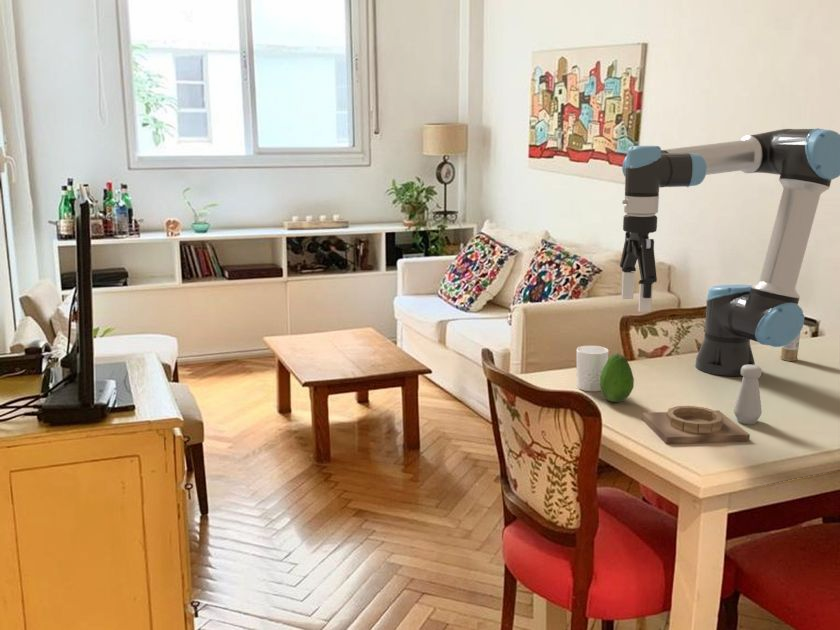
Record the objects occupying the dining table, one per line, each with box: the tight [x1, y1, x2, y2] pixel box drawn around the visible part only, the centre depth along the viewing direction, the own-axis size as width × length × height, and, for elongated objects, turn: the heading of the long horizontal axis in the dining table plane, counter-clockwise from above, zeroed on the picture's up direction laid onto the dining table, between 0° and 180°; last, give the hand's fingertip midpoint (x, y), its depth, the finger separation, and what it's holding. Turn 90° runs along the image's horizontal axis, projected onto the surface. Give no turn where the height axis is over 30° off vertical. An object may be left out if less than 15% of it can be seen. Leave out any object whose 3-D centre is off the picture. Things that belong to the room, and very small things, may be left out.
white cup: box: [576, 345, 610, 392], centre depth 210 cm, size 8×8×10 cm
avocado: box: [600, 353, 635, 403], centre depth 199 cm, size 8×8×12 cm
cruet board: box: [641, 405, 751, 445], centre depth 181 cm, size 18×15×4 cm
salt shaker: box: [733, 364, 763, 425], centre depth 185 cm, size 6×6×13 cm
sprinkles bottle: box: [780, 332, 801, 362], centre depth 234 cm, size 5×5×13 cm
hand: (635, 305), depth 195 cm, fingers open, 13 cm apart
